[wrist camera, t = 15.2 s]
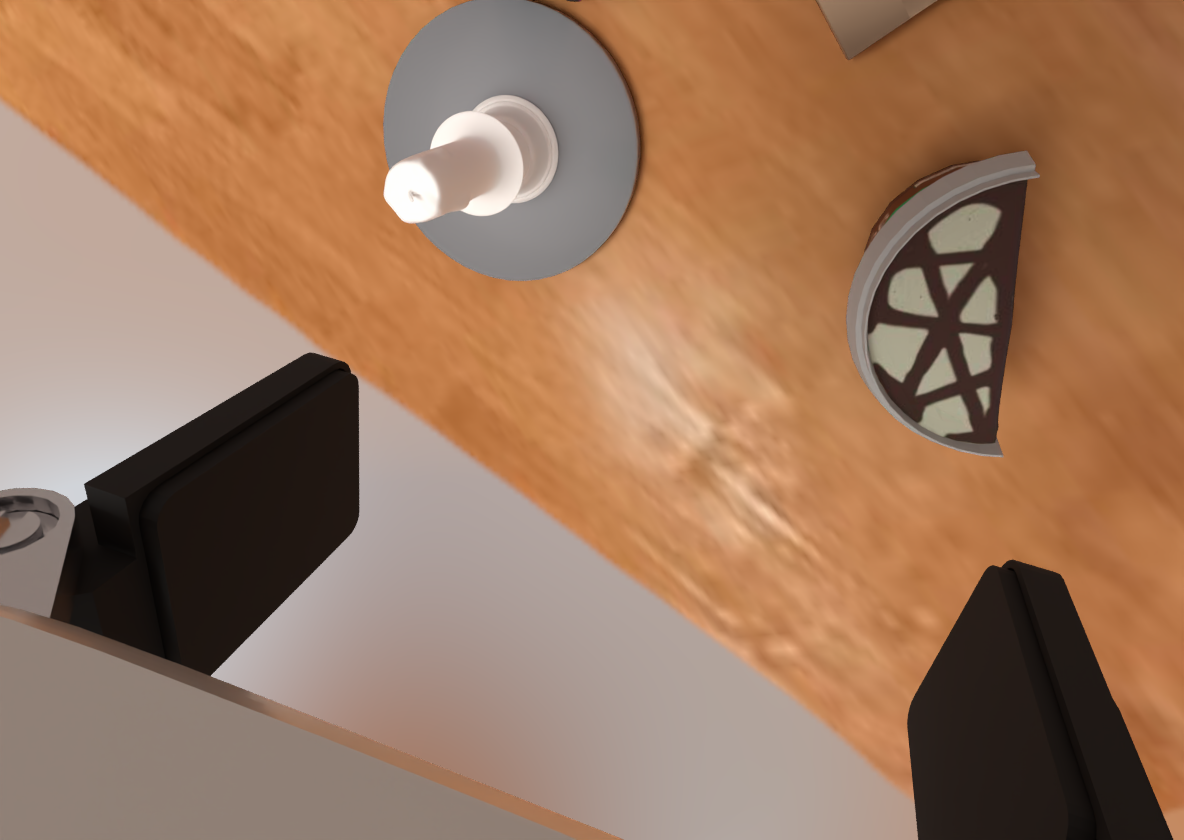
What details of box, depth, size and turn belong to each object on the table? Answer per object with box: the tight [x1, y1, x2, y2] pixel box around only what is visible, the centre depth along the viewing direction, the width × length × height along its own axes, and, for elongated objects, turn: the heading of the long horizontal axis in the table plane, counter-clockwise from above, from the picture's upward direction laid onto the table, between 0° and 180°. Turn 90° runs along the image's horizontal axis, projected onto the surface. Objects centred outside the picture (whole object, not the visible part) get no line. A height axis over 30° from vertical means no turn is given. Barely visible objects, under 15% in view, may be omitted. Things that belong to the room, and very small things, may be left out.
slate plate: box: [383, 0, 640, 281], centre depth 39 cm, size 14×14×1 cm
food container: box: [846, 151, 1040, 457], centre depth 33 cm, size 12×6×10 cm, turn 8°
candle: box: [384, 95, 558, 223], centre depth 33 cm, size 5×5×12 cm
